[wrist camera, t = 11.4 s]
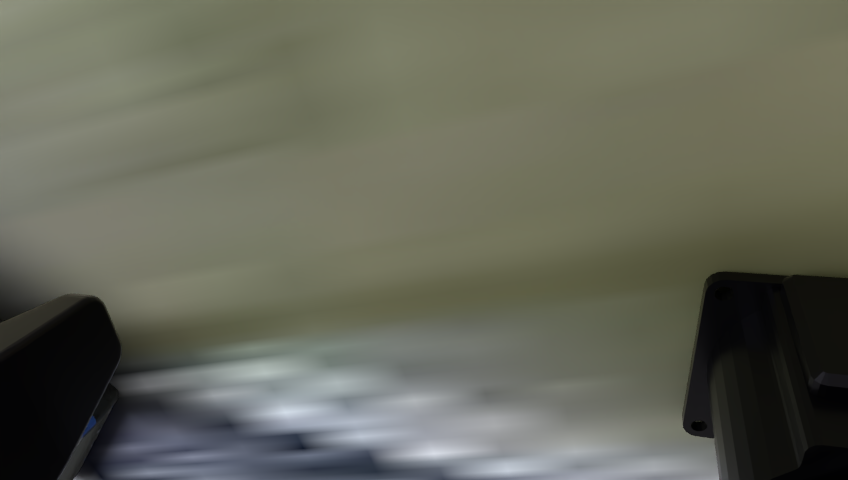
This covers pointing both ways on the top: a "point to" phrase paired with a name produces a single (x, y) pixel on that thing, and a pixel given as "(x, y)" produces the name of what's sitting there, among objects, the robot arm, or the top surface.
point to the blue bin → (90, 432)
